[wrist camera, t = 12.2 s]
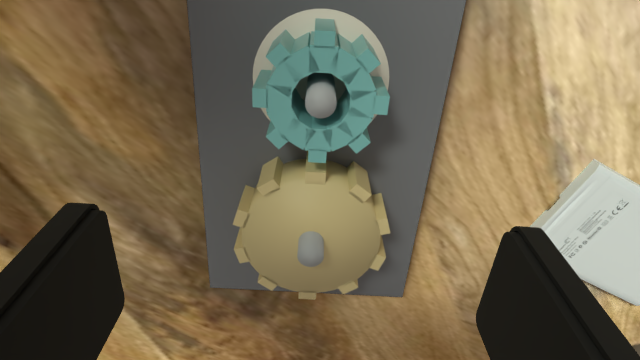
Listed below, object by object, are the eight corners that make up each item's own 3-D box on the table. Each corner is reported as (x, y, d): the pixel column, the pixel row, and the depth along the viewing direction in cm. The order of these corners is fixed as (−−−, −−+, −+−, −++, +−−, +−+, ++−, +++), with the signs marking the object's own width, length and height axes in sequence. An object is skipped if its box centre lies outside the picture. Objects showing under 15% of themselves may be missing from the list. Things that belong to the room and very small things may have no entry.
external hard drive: (625, 294, 36) (511, 237, 33) (709, 223, 33) (589, 154, 30) (638, 308, 35) (519, 251, 32) (727, 236, 31) (603, 165, 28)
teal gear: (260, 14, 23) (251, 26, 20) (388, 22, 23) (398, 35, 20) (261, 133, 27) (253, 159, 24) (373, 139, 27) (379, 165, 24)
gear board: (189, -71, 23) (149, -74, 18) (467, -50, 23) (510, -47, 18) (214, 274, 34) (195, 334, 29) (399, 283, 35) (412, 344, 30)
